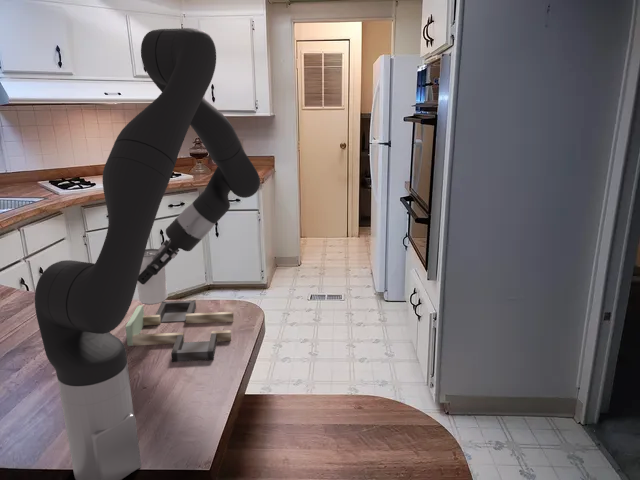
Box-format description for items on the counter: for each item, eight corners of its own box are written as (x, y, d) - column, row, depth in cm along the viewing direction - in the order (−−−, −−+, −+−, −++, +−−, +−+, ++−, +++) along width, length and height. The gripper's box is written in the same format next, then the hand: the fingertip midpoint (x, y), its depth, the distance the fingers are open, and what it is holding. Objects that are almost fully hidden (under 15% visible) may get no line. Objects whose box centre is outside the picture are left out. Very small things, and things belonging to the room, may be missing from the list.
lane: (235, 306, 127) (235, 298, 127) (228, 359, 101) (228, 350, 100) (147, 309, 124) (146, 302, 124) (116, 365, 98) (115, 356, 97)
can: (158, 306, 106) (153, 257, 102) (133, 304, 107) (127, 255, 103) (172, 295, 112) (168, 249, 108) (148, 293, 113) (143, 247, 109)
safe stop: (144, 323, 117) (143, 305, 115) (133, 345, 106) (130, 326, 104) (140, 323, 117) (138, 305, 115) (127, 345, 106) (125, 326, 104)
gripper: (183, 208, 111) (138, 256, 113) (172, 223, 97) (121, 277, 99) (207, 229, 113) (162, 275, 115) (199, 246, 100) (149, 298, 102)
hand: (143, 276), depth 107 cm, fingers closed on can, 6 cm apart
